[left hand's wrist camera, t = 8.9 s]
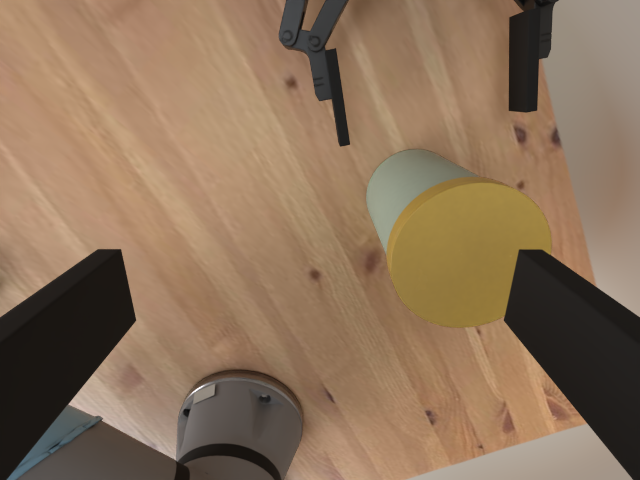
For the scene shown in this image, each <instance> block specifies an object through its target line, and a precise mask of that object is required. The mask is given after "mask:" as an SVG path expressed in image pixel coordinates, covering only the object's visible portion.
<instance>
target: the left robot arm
mask: <svg viewBox="0 0 640 480" xmlns="http://www.w3.org/2000/svg"><path fill="white" fill-rule="evenodd" d="M135 321H136V317H135V313H134V308H133V303H132V299H131V294H130V289H129V284H128V280H127V275H126V270H125V266H124V261H123V256H122V252H121V249H98V250H96V251H95V252H93V253H92V254H90V255H89V256H88V257H86V258H85V259H83V260H82V261H80V262H79V263H78V264H76V265H75V266H73V267H72V268H70V269H69V270H68V271H66V272H65V273H63V274H62V275H60V276H59V277H57V278H56V279H55V280H53V281H52V282H50V283H49V284H47V285H46V286H45V287H43V288H42V289H40V290H39V291H37V292H36V293H35V294H33V295H32V296H30V297H29V298H27V299H26V300H24V301H23V302H22V303H20V304H19V305H17V306H16V307H14V308H13V309H12V310H10V311H9V312H7V313H6V314H4V315H3V316H2V317H0V480H284V478H285V475H286V473H287V471H288V469H289V466H290V464H291V462H292V460H293V457H294V455H295V453H296V450H297V448H298V446H299V443H300V441H301V437H302V426H303V415H302V410H301V407H300V404H299V402H298V400H297V399H296V397H295V396H294V394H293V393H292V392H291V391H290V390H289V389H288V388H287V387H286V386H284V385H283V384H282V383H280V382H279V381H277V380H275V379H273V378H271V377H269V376H266V375H263V374H260V373H256V372H252V371H243V370H233V371H225V372H220V373H216V374H213V375H211V376H208V377H206V378H205V379H203V380H201V381H200V382H198V383H197V384H196V385H195V386H194V387H193V388H192V389H191V390H190V392H189V393H188V394H187V396H186V398H185V401H184V403H183V405H182V407H181V410H180V412H179V417H178V428H177V450H176V461H175V460H174V459H172V458H170V457H168V456H167V455H165V454H163V453H161V452H159V451H157V450H155V449H153V448H151V447H149V446H147V445H145V444H143V443H142V442H140V441H138V440H136V439H134V438H132V437H131V436H129V435H127V434H125V433H123V432H121V431H120V430H118V429H116V428H114V427H112V426H110V425H109V424H107V423H105V422H103V421H101V420H102V419H103V418H102V417H100V416H95V417H94V416H92V415H90V414H88V413H85V412H83V411H81V410H79V409H77V408H75V407H72V406H70V405H68V404H69V403H70V401H71V400H72V399H73V398H74V396H75V395H76V394H77V393H78V391H79V390H80V389H81V388H82V387H83V385H84V384H85V383H86V382H87V380H88V379H89V378H90V377H91V375H92V374H93V373H94V372H95V371H96V369H97V368H98V367H99V366H100V364H101V363H102V362H103V361H104V360H105V358H106V357H107V356H108V355H109V353H110V352H111V351H112V350H113V348H114V347H115V346H116V345H117V344H118V342H119V341H120V340H121V339H122V337H123V336H124V335H125V334H126V332H127V331H128V330H129V329H130V328H131V326H132V325H133V324H134V323H135ZM504 321H505V323H506V324H507V325H508V326H509V328H510V329H511V330H512V331H513V332H514V334H515V335H516V336H517V337H518V339H519V340H520V341H521V342H522V344H523V345H524V346H525V347H526V348H527V350H528V351H529V352H530V353H531V355H532V356H533V357H534V358H535V360H536V361H537V362H538V363H539V364H540V366H541V367H542V368H543V369H544V371H545V372H546V373H547V374H548V375H549V377H550V378H551V379H552V380H553V382H554V383H555V384H556V385H557V387H558V388H559V389H560V390H561V391H562V393H563V394H564V395H565V396H566V398H567V399H568V400H569V401H570V403H571V404H572V405H573V406H574V407H575V409H576V410H577V411H578V412H579V414H580V415H581V416H582V417H583V419H584V420H585V421H586V422H587V423H588V425H589V426H590V427H591V428H592V430H593V431H594V432H595V433H596V435H597V436H598V437H599V438H600V439H601V441H602V442H603V443H604V444H605V446H606V447H607V448H608V449H609V450H610V452H611V453H612V454H613V455H614V457H615V458H616V459H617V460H618V462H619V463H620V464H621V465H622V467H623V468H624V469H625V470H626V471H627V473H628V474H629V475H630V476H631V478H632V479H633V480H640V317H638V316H637V315H636V314H634V313H633V312H631V311H630V310H628V309H627V308H626V307H624V306H623V305H621V304H620V303H618V302H617V301H615V300H614V299H613V298H611V297H610V296H608V295H607V294H605V293H604V292H603V291H601V290H600V289H598V288H597V287H595V286H594V285H593V284H591V283H590V282H588V281H587V280H585V279H584V278H583V277H581V276H580V275H578V274H577V273H575V272H574V271H573V270H571V269H570V268H568V267H567V266H565V265H564V264H562V263H561V262H560V261H558V260H557V259H555V258H554V257H552V256H551V255H550V254H548V253H547V252H545V251H544V250H542V249H519V252H518V256H517V261H516V266H515V270H514V275H513V280H512V284H511V289H510V294H509V299H508V303H507V308H506V313H505V317H504Z"/></svg>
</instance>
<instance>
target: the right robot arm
mask: <svg viewBox="0 0 640 480" xmlns="http://www.w3.org/2000/svg"><path fill="white" fill-rule="evenodd" d="M348 1H349V0H326V1H325V3H324V5H323V7H322V9H321V11H320V13H319V15H318V17H317V19H316V21H315V23H314V25H313V27H312V29H311V31H306V30H301V29H302V25H303V21H304V17H305V13H306V9H307V4H308V0H286V4H285V8H284V13H283V17H282V22H281V26H280V31H279V39H280V42H281V43H282V44H283V46H284V47H285V48H286V49H288V50H296V51H301V52H304V53H306V54H307V55H308V57H309V59H310V65H311V71H312V77H313V83H314V88H315V94H316V96H317V98H318V100H319V101H323V100H328V99H332V104H333V110H334V117H335V123H336V129H337V136H338V142H339V145H340V146H346V145H350V141H349V134H348V127H347V120H346V113H345V107H344V100H343V93H342V86H341V79H340V72H339V66H338V59H337V52H336V48H335V49H330V50H326V51H325V45H326V43H327V41H328V39H329V37H330V35H331V33H332V32H333V30H334V28H335V26H336V24H337V22H338V20H339V18H340V16H341V14H342V12H343V10H344V8H345V7H346V5H347V3H348ZM514 1H515V2H516V3H517V4H518V6H519V7H520V8H521V9H522V10H523V11H524V12H522V13H519V14H517V15H514V16H512V17H509V111H517V112H531V111H537V99H538V69H539V59H542V58H547V57H548V55H549V52H550V50H551V32H552V11H553V6H554V4H555V2H557V1H558V0H514Z"/></svg>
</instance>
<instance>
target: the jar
mask: <svg viewBox="0 0 640 480" xmlns="http://www.w3.org/2000/svg"><path fill="white" fill-rule="evenodd" d="M460 177H480V176H478V175H476V174H474V173H472V172H470V171H468V170H466V169H464V168H462V167H460V166H459V165H457V164H455V163H453V162H451V161H449V160H447V159H445V158H443V157H441V156H439V155H437V154H435V153H433V152H431V151H427V150H422V149H411V150H405V151H402V152H399V153H396V154H394V155H392V156H391V157H389V158H388V159H386V160H385V161H384V162H383V163H381V164H380V166H379V167H378V168H377V169H376V170H375V172H374V173H373V175H372V177H371V179H370V181H369V184H368V188H367V194H366V202H367V208H368V211H369V214H370V216H371V219H372V221H373V224H374V226H375V228H376V231H377V233H378V236H379V238H380V241H381V243H382V246H383V248H384V251H385V253H386V251H387V244H388V239H389V236H390V233H391V230H392V228H393V225H394V223H395V222H396V220H397V218H398V217H399V215H400V214H401V212H402V211H403V210H404V209H405V207H406V206H407V205H408V204H409V203H410V202H411V201H412V200H413V199H415V198H416V197H417V196H418V195H420V194H421V193H422V192H424V191H426V190H427V189H429V188H431V187H433V186H435V185H437V184H439V183H442V182H445V181H447V180H451V179H456V178H460ZM386 256H387V254H386Z"/></svg>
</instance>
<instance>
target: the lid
mask: <svg viewBox="0 0 640 480" xmlns="http://www.w3.org/2000/svg"><path fill="white" fill-rule="evenodd" d="M551 247H552V240H551V233H550V229H549V225H548V222H547V220H546V218H545V216H544V214H543V212H542V211H541V210H540V208H539V207H538V206H537V205H536V204H535V203H534V202H533V201H532V200H531V199H530V198H529V197H528V196H526V195H525V194H523V193H522V192H520V191H518V190H516V189H514V188H512V187H510V186H508V185H506V184H504V183H502V182H499V181H496V180H493V179H489V178H484V177H460V178H456V179H451V180H447V181H445V182H442V183H439V184H437V185H435V186H433V187H431V188H429V189H427V190H426V191H424V192H422V193H421V194H420V195H418V196H417V197H416V198H415V199H413V200H412V201H411V202H410V203H409V204H408V205H407V206H406V207H405V209H404V210H403V211H402V212H401V214H400V215H399V217H398V218H397V220H396V222H395V223H394V225H393V228H392V230H391V233H390V236H389V239H388V244H387V251H386V254H387V266H388V271H389V274H390V277H391V280H392V282H393V285H394V287H395V290H396V292H397V294H398V296H399V297H400V299H401V300H402V302H403V303H404V304H405V305H406V306H407V307H408V308H409V309H410V310H411V311H412V312H413V313H415V314H416V315H417V316H419V317H421V318H422V319H424V320H426V321H429V322H431V323H433V324H437V325H440V326H446V327H455V328H464V327H473V326H479V325H483V324H487V323H490V322H492V321H495V320H497V319H500V318H502V317H504V316H505V313H506V308H507V303H508V299H509V294H510V289H511V284H512V280H513V275H514V270H515V266H516V261H517V256H518V252H519V249H542V250H544V251H545V252H547V253H548V254H550V255H551Z"/></svg>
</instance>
